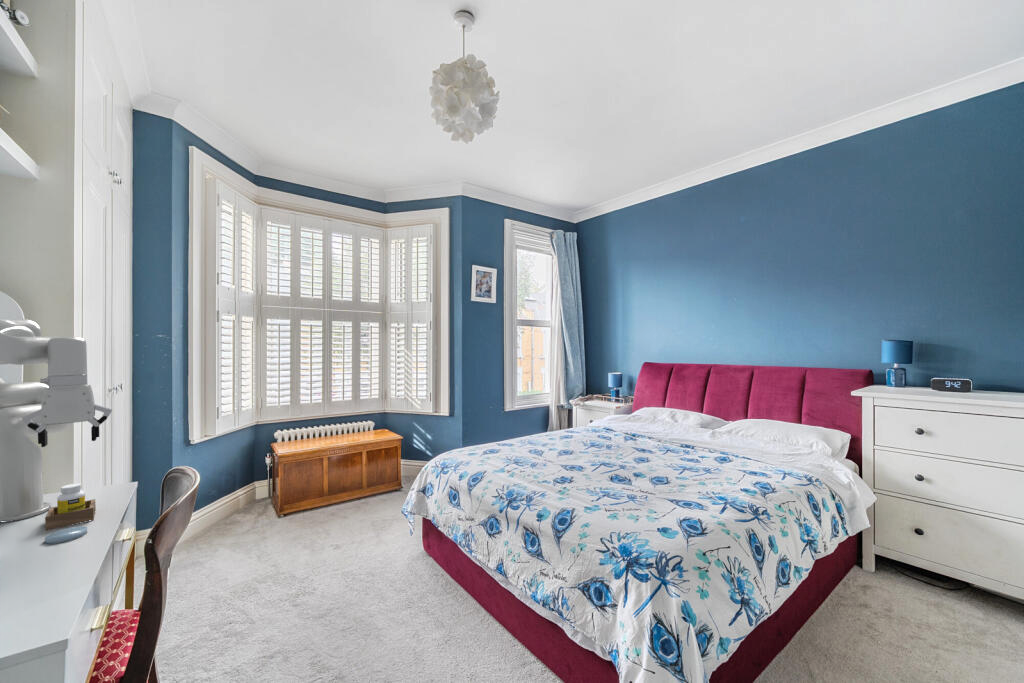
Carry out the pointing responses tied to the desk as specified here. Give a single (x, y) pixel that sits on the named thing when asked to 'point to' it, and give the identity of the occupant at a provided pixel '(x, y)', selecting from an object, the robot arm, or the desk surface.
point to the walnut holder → (69, 516)
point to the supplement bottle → (71, 498)
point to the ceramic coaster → (65, 535)
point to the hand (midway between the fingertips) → (69, 443)
